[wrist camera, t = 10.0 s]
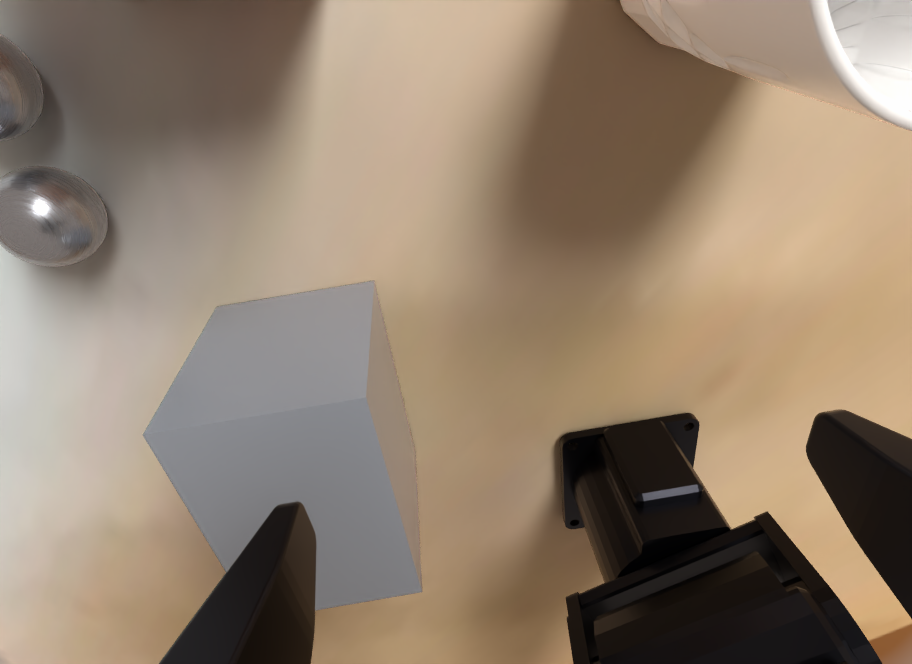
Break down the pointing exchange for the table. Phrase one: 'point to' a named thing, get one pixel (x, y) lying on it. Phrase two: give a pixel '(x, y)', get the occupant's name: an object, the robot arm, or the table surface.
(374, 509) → the pale grey box
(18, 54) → the marble
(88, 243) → the marble
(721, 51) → the white cup
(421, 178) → the table surface
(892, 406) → the table surface
